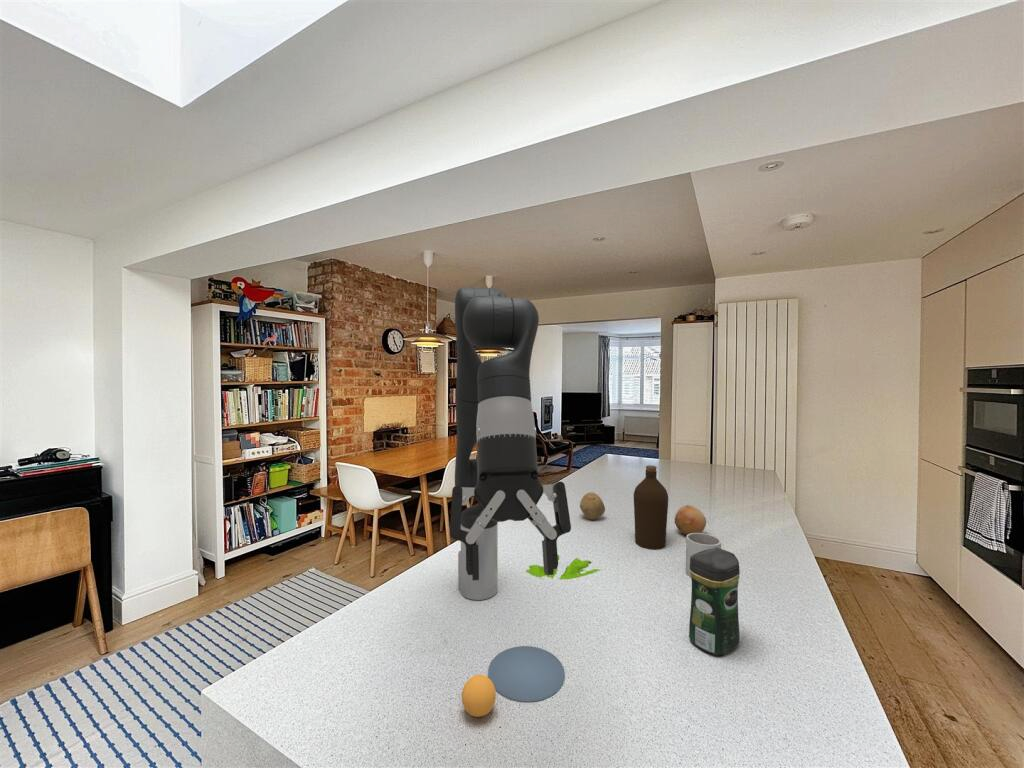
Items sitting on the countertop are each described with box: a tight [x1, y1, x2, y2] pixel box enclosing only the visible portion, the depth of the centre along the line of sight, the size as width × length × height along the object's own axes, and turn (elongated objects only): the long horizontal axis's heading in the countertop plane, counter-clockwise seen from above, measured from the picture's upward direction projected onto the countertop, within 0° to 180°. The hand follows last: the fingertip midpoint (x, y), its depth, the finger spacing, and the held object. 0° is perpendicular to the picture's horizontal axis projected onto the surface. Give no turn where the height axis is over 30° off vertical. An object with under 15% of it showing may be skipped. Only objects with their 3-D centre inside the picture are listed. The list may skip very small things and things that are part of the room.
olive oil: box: [633, 465, 669, 550], centre depth 134 cm, size 11×11×25 cm
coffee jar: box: [688, 547, 741, 656], centre depth 85 cm, size 10×8×19 cm
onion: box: [674, 504, 707, 536], centre depth 141 cm, size 10×10×10 cm
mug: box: [685, 532, 722, 579], centre depth 114 cm, size 12×9×10 cm
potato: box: [579, 492, 606, 521], centre depth 156 cm, size 9×9×10 cm
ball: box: [461, 674, 497, 718], centre depth 67 cm, size 6×6×6 cm
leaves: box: [525, 553, 602, 580], centre depth 119 cm, size 20×22×2 cm
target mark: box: [487, 645, 566, 703], centre depth 76 cm, size 14×14×1 cm
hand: (512, 577), depth 48 cm, fingers open, 8 cm apart
